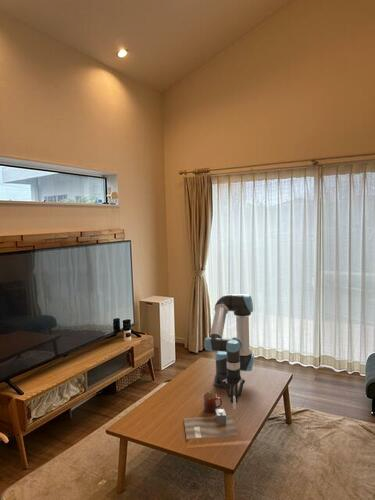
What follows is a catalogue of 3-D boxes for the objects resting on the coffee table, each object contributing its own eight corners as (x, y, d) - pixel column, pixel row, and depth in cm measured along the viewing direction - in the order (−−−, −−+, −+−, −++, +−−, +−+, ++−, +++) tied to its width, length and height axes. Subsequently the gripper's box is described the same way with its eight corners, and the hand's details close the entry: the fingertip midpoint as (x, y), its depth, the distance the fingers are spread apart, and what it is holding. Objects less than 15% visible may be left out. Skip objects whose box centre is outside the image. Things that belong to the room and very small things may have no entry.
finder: (215, 417, 215) (215, 408, 215) (224, 416, 216) (223, 408, 215) (217, 424, 208) (217, 415, 208) (226, 423, 209) (226, 414, 208)
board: (183, 417, 218) (183, 415, 218) (230, 414, 220) (230, 412, 220) (186, 441, 196) (186, 438, 195) (238, 436, 198) (238, 434, 198)
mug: (201, 414, 222) (200, 397, 221) (205, 407, 230) (204, 391, 229) (220, 417, 218) (220, 400, 217) (224, 409, 226) (223, 393, 225)
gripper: (223, 371, 206) (224, 412, 207) (246, 370, 207) (247, 410, 208) (221, 366, 213) (221, 405, 215) (243, 364, 214) (243, 404, 216)
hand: (234, 408), depth 212 cm, fingers closed
